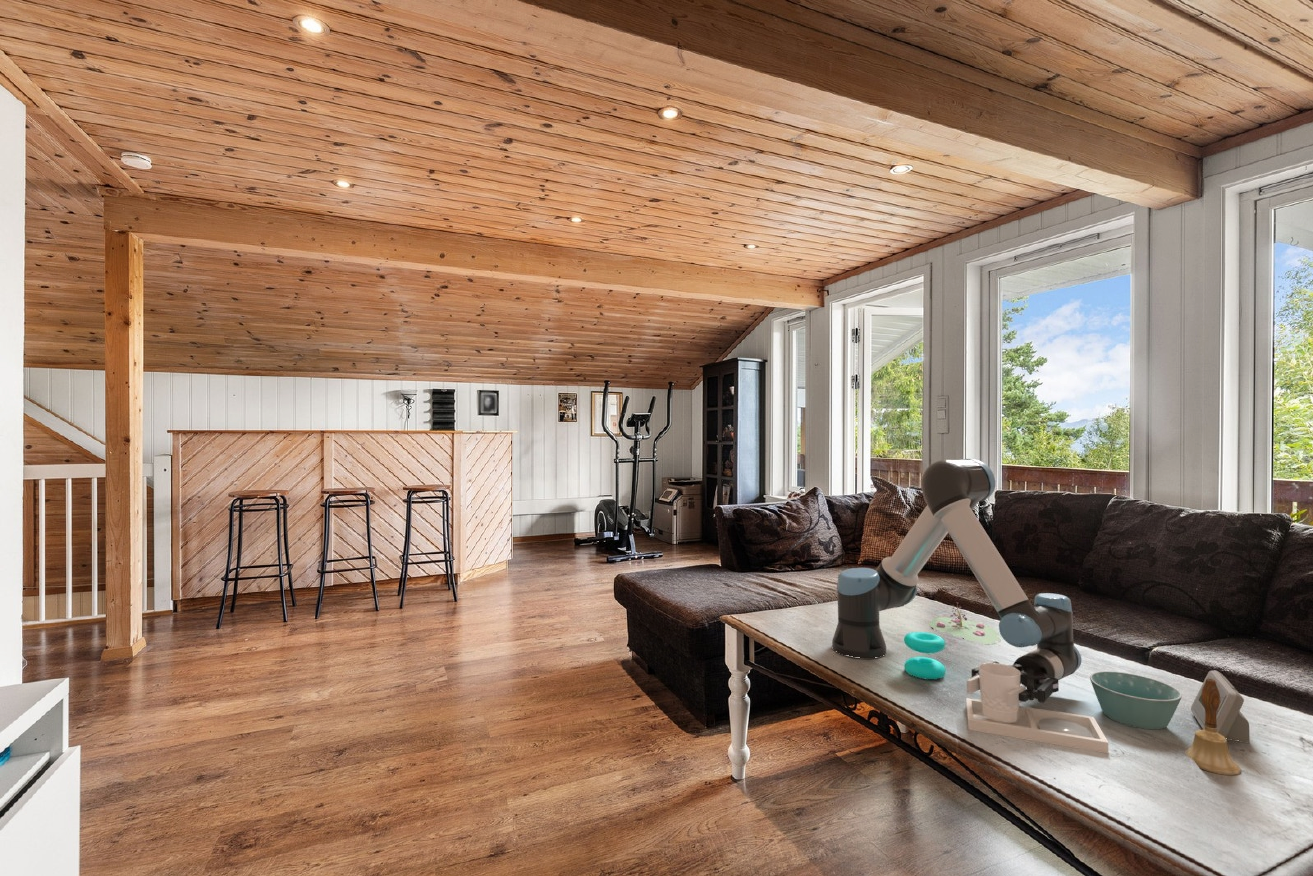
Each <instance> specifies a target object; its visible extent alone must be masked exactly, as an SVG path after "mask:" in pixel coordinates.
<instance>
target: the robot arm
mask: <svg viewBox="0 0 1313 876" xmlns="http://www.w3.org/2000/svg"><path fill="white" fill-rule="evenodd" d="M921 477H922V478H921V481H920V482H921V485H920V486H921V487H920V488H921V491H922V495H923V499H924V501H925V503H926V506H925V507H924V509H923V510H922V512H921V513H920V515H919V516H918V518H917V519H916V521H915V522H914V524H913V525H912V526H911V527H910V529H909V530H908V532H907V533H906V535H905V537H904V538H903V539H902V541H901V542H900V544H899V545H898V547H897V548H896V550H895V551H894V553H892V556H886V557H884V558H883V559H882V561H880V563H879V565H878V566H877V567H876V569H873V568H869V567H857V568H856V567H854V568H853V567H852V568H848V569H845V570H842V571H841V572H840V573H839V574H838V576H837V584H836V589H837V625H836V628H835V631H834V634H833V637H832V640H831V641H832V643H831V644H832V645H831V646H832V647H833V649H832V650H833V651H834V650H835V651H837V652H838V653H840V654H839V655H841V654H843V655H842V656H844V655H849V656H853V657H860V658H874V659H876V658H875V657H880V656H883V655H885V654H887V644H886V641H885V638H884V635H883V633H882V629H881V626H880V612H883V611H886V610H890V609H895V608H901V607H902V608H903V607H904V606H906V605H908V604H910V603H912V601H913V600H914V599H915V598H916V596H917V592H918V587H917V586H918V584H919V581H920V580H919V576H918V574H919V573H920V572H921V570H922V569H923V568H924V566H925V565H926V563H927V562H928V561H929V559H930V558H931V557H932V555H933V554H934V552H935V551H936V549H937V548H938V547H939V546H940V544H941V543H942V541H943V540H944V539H945V537H946V536H947V535H948V534H949V536H950V537H951V539H952V540H953V543H955V546H956V547H957V549H958V551H959V552H960V553H961V555H962V557H963V559H964V560H965V561H966V564H967V565H968V567H969V568H970V570H971V572H972V573H973V574H974V576H975V578H976V580H977V581H978V583H979V585H980V586H981V588H982V589H983V591H984V593H985V595H986V596H987V598H988V600H989V602H991V604H992V606H993V607H994V609H995V611H996V612H997V614H998V616H999V618H1000V620H999V622H998V630H999V635H1000V637H1001V639H1002V640H1004V641H1005V642H1006V643H1007V644H1009V645H1011V646H1013V647H1015V648H1026V647H1030V646H1031V647H1033V646H1036V649H1035V650H1032V651H1029V652H1027V653H1025V654H1023V655H1021V656H1019V657H1018V658H1017V659H1016V660H1015V661H1014V662H1013V664H1009V665H1008V666H1011V667H1014V668H1016V669H1018V670H1019V671H1020V672H1021V678H1020V687H1018V688H1016V689H1014V690H1012V691H1010V692H1008V693H1007V706H1008V707H1013V706H1015V705H1017V704H1019V705H1020V703H1022V702H1023V703H1024V702H1028V701H1033V700H1034V699H1035V700H1037V702H1040V703H1045V702H1046V701H1047V700H1048V699H1049V698H1050V696H1051V695H1052V694H1053V693H1057V692H1059V689H1060V688H1059V686H1060V685H1059V683H1060V682H1059V681H1060V680H1062V679H1064V678H1066V677H1069V676H1071V675H1073V674H1074V673H1075V672H1076V671H1077V670H1079V668H1080V667H1081V664H1082V654H1080V652H1079V650H1078V648H1077V647H1076V646H1075V643H1074V624H1073V623H1074V622H1073V614H1074V612H1073V608H1072V601H1071V599H1070V598H1069V597H1068V596H1066V595H1063V594H1058V593H1052V592H1051V593H1050V592H1046V593H1045V592H1043V593H1042V592H1041V593H1037V594H1036V595H1035V596H1034V603H1033V604H1032V602H1031V601H1030V600H1029V598H1028V596H1027V595H1026V592H1025V591H1024V590H1023V589H1022V587H1021V585H1020V583H1019V582H1018V580H1017V579H1016V577H1015V576H1014V574H1013V573H1012V571H1011V569H1010V568H1009V567H1008V565H1007V563H1006V562H1005V559H1004V558H1003V557H1002V555H1001V554H1000V553H999V551H998V549H997V547H996V546H995V545H994V543H993V541H992V540H991V538H990V536H989V535H988V534H987V532H986V530H985V529H984V527H983V525H982V524H981V522H980V521H979V518H977V516H976V515H975V513H974V511H973V510H974V508H975V507H976V505H977V504H978V503H979V502H983V501H986V500H987V499H989V498H990V497H991V496H992V495H993V493H994V492H995V488H996V479H995V478H996V477H995V474H994V472H993V471H992V469H991V467H990V466H989V465H987V464H986V463H985V462H983V461H982V460H978V459H972V458H963V459H943V460H938V461H934V462H933V463H931V464H930V465H929V466H928V467H927V468H926V469H925V470H924V472H923V474H922V476H921ZM835 651H834V652H835ZM837 652H836V653H837ZM838 653H837V654H838ZM885 656H886V655H885ZM883 657H884V656H883ZM880 658H881V657H880ZM992 663H997V664H1000V661H996V660H995V661H992ZM970 670H971V676H970V678H968V679H967V680H966V694H969V695H970V694H971V695H972V694H973V693H975V692H978V691H980V682H979V666H977V667H974V668H971V669H970Z"/></svg>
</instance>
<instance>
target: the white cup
mask: <svg viewBox="0 0 1313 876" xmlns="http://www.w3.org/2000/svg"><path fill="white" fill-rule="evenodd" d="M978 667H979V682H980V690H979V692H980V693H979V694H980V700H981V702H982V713H983V715H984V716H986V717H987V718H989V719H991V720H994V721H998V722H1003V723H1013V722H1016V721H1017V720H1018V716H1019V709H1018V708H1019V706H1020V703H1019V704H1017V705H1015V706H1013V707H1008V706H1007V693H1008V692H1010V691H1012V690H1014V689H1016V688H1018V687H1020V686H1021V684H1020V678H1021V672H1020V671H1019V670H1018V669H1016V668H1014V667H1011V666H1008V665H1007V664H1003V663H999V664H997V663H993V662H984V663H980V664H979V665H978Z"/></svg>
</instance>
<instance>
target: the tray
mask: <svg viewBox="0 0 1313 876" xmlns="http://www.w3.org/2000/svg"><path fill="white" fill-rule="evenodd" d="M965 701H966V705H965V707H966V715H967V716H966V718H967V725H968V730H969V731H972V732H973V731H974V732H981V733H985V734H986V733H987V734H992V735H998V736H1003V737H1009V738H1015V739H1016V738H1017V739H1022V740H1026V741H1027V740H1029V741H1033V742H1034V741H1035V742H1040V743H1046V744H1051V745H1057V746H1061V747H1062V746H1063V747H1067V748H1068V747H1069V748H1076V749H1081V750H1085V751H1093V752H1100V753H1105V754H1109V753H1110V752H1109V741H1108V740H1107V738H1106V736H1105V734H1104V732H1103V730H1102V729H1101V727H1100V726H1099V724H1098V722H1097V720H1096V718H1095V716H1090V715H1084V714H1076V713H1070V712H1064V711H1063V712H1062V711H1057V710H1056V711H1055V710H1051V709H1050V710H1049V709H1043V708H1038V707H1037V708H1035V707H1028V706H1022V705H1019V708H1018V709H1019V716H1018V720H1017V721H1016V722H1013V723H1003V722H998V721H994V720H991V719H989V718H987V717H986V716H984V715H983V713H982V702H981V699H977V698H969V697H966V698H965ZM1045 718H1056V719H1063V720H1067V721H1071V722H1074V723H1077V724H1079V725H1081V726H1083V727H1085V728H1086V729H1088V730H1089V731H1090V733H1091V738H1090V737H1084V736H1077V735H1071V734H1065V733H1059V732H1053V731H1046V730H1040V729H1039V728H1038V722H1039V720H1041V719H1045Z"/></svg>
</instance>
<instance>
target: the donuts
mask: <svg viewBox="0 0 1313 876" xmlns="http://www.w3.org/2000/svg"><path fill="white" fill-rule="evenodd" d="M903 642H904V644H905V645H906V647H907V648H909V649H910V650H912V651H914V652H917V653H922V654H937V653H939V652H942V651H944V649H945V647H946V642H945V640H944V638H942V637H941V636H939V635H938V634H935V633H931V632H924V631H912V632H909V633H907V634H905V636H904V638H903ZM904 670H905V671H906V673H908V674H909V675H910V674H911V675H910V676H912V675H913V676H912V677H914V676H915V677H914V678H917V677H919V678H918V679H921V678H926V679H925V680H928V679H934V680H938V679H937V678H940V679H941V678H944V677H945V675H946V672H947V670H946V667H945V666H944V664H943V663H941V662H940V661H939V660H936V659H934V658H931V657H927V656H914V657H910V658H908V659H907V660H905V663H904Z"/></svg>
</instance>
